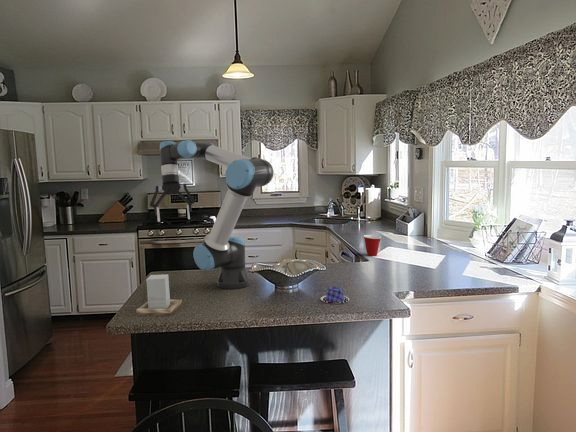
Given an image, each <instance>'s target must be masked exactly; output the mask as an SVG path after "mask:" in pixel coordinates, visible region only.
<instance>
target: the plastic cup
mask: <svg viewBox="0 0 576 432" xmlns="http://www.w3.org/2000/svg"><path fill="white" fill-rule="evenodd" d="M363 238H364V243H365V244H364V245H365V250H366V255H367V256H368V257H377V256H378V252H379V249H380V242H381V240H382V236H380V235H375V234H363Z"/></svg>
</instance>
